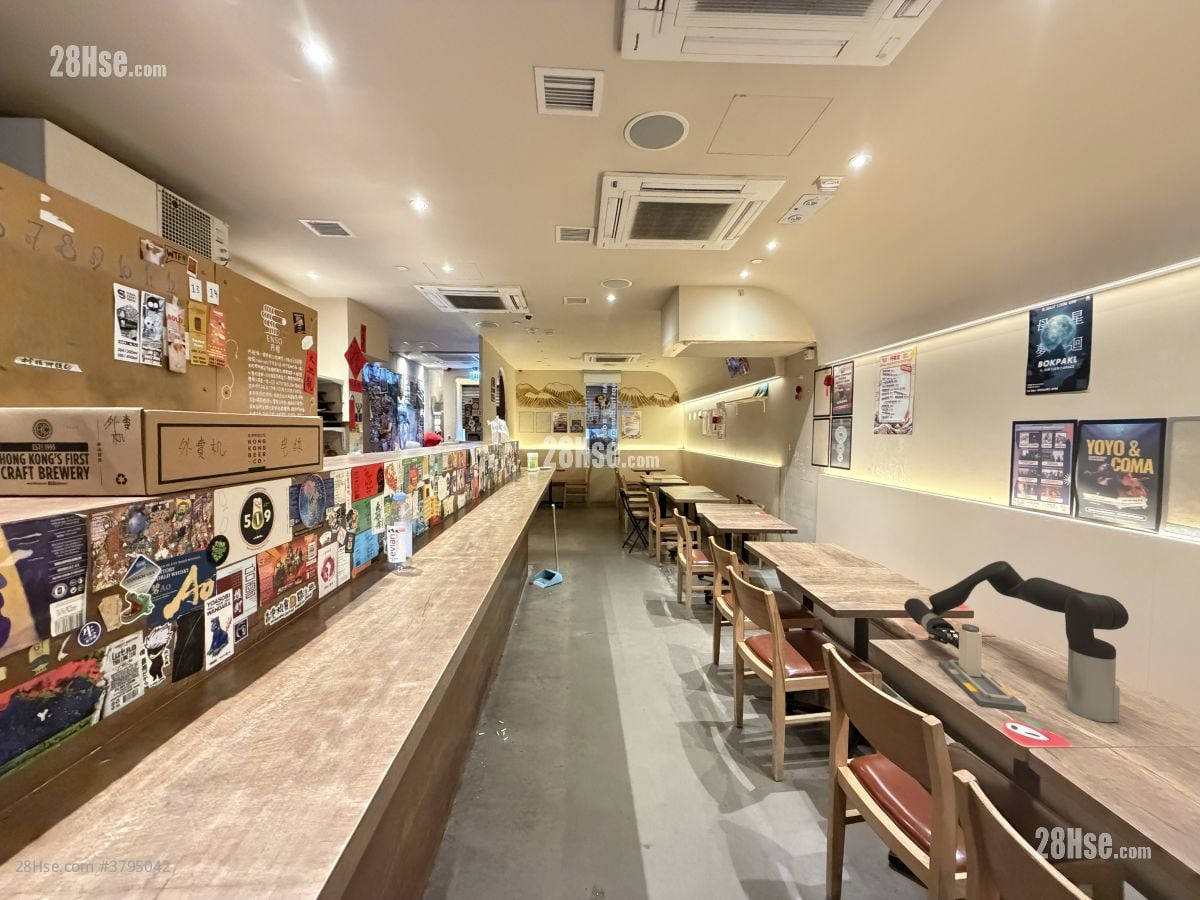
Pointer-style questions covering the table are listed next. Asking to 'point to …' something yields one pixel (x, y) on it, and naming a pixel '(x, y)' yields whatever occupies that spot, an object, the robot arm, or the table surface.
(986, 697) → the switch panel
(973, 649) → the slider knob
